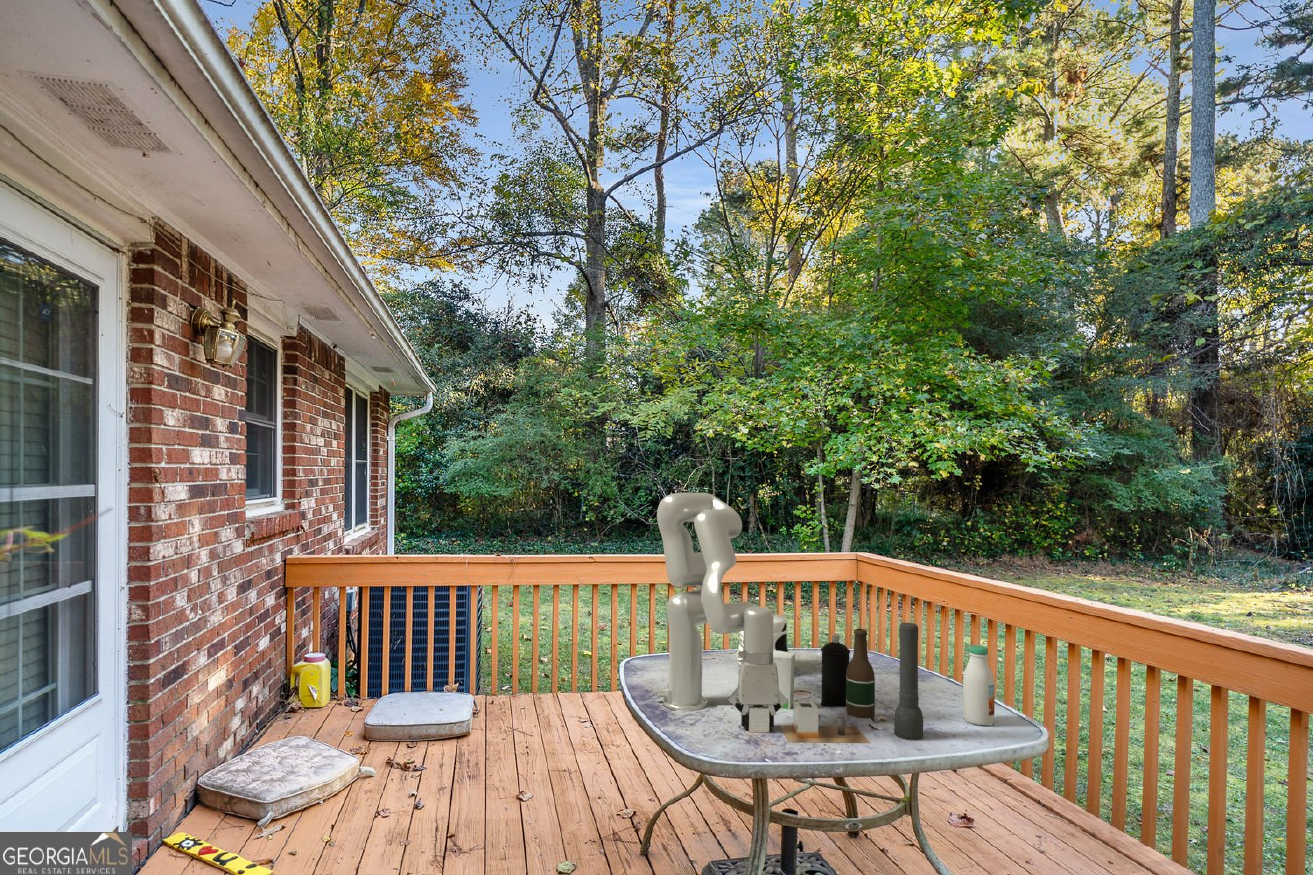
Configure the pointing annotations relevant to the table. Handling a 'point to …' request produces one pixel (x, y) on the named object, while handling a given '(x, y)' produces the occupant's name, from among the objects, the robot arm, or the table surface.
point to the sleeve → (758, 719)
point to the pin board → (828, 734)
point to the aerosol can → (834, 673)
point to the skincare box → (785, 675)
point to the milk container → (778, 636)
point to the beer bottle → (860, 680)
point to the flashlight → (908, 686)
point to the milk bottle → (978, 688)
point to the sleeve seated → (805, 720)
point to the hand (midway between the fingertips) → (757, 728)
